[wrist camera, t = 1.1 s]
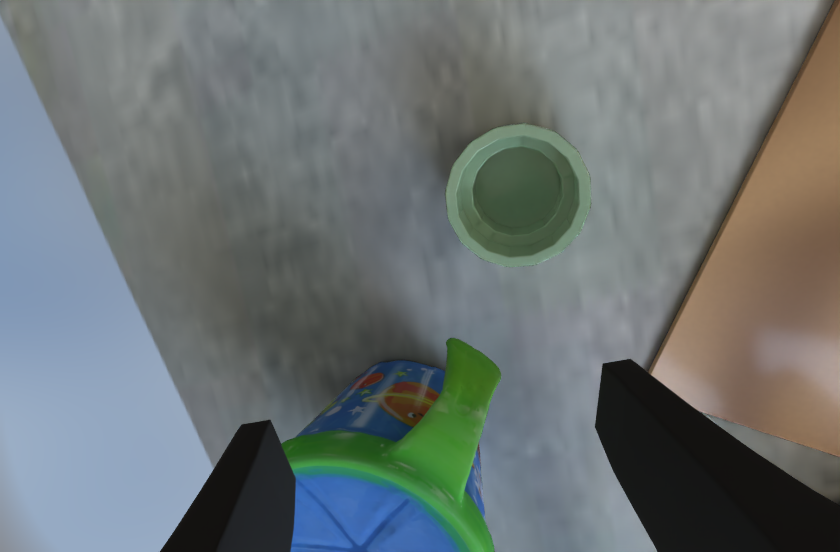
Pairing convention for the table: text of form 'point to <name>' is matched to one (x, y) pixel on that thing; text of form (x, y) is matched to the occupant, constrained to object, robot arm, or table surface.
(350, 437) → the snack cup
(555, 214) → the bowl
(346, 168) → the table surface
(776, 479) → the robot arm
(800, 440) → the mat
